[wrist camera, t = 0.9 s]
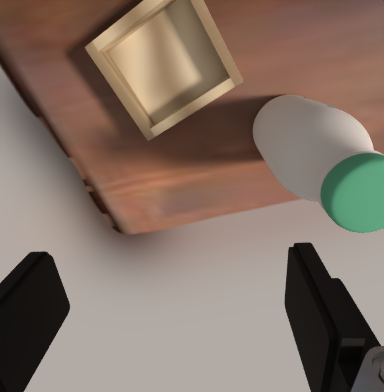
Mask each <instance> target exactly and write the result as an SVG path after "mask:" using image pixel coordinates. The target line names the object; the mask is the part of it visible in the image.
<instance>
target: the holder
mask: <svg viewBox="0 0 384 392" xmlns="http://www.w3.org/2000/svg"><path fill="white" fill-rule="evenodd" d="M84 48H85V49H86V51H87V52H88V53H89V55H90V56H91V58H92V59H93V61H94V62H95V64H96V65H97V67H98V68H99V70H100V71H101V73H102V74H103V76H104V77H105V79H106V80H107V81H108V83H109V84H110V86H111V87H112V89H113V90H114V92H115V93H116V95H117V96H118V98H119V99H120V101H121V102H122V104H123V105H124V106H125V108H126V109H127V111H128V112H129V114H130V115H131V117H132V118H133V120H134V121H135V123H136V124H137V126H138V127H139V129H140V130H141V132H142V133H143V134H144V136H145V137H146V139H147V140H148V141H149V140H151V139H153V138H154V137H156V136H157V135H159V134H161V133H162V132H164V131H165V130H167V129H168V128H170V127H172V126H173V125H175V124H176V123H178V122H180V121H181V120H183V119H184V118H186V117H188V116H189V115H191V114H192V113H194V112H196V111H197V110H199V109H200V108H202V107H203V106H205V105H207V104H208V103H210V102H211V101H213V100H215V99H216V98H218V97H219V96H221V95H223V94H224V93H226V92H227V91H229V90H231V89H232V88H234V87H235V86H237V85H238V84H240V83H242V82H243V79H242V77H241V75H240V73H239V71H238V69H237V67H236V65H235V63H234V61H233V59H232V57H231V55H230V53H229V51H228V49H227V47H226V45H225V43H224V41H223V39H222V37H221V35H220V33H219V31H218V29H217V27H216V25H215V23H214V21H213V19H212V17H211V15H210V13H209V11H208V9H207V7H206V5H205V3H204V1H203V0H143V1H142V2H141V3H139V4H138V5H137V6H136V7H134V8H133V9H132V10H131V11H129V12H128V13H127V14H126V15H124V16H123V17H122V18H121V19H119V20H118V21H117V22H116V23H114V24H113V25H112V26H111V27H109V28H108V29H107V30H106V31H104V32H103V33H102V34H101V35H99V36H98V37H97V38H96V39H94V40H93V41H92V42H91V43H89V44H88V45H87V46H86V47H84Z"/></svg>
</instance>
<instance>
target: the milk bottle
mask: <svg viewBox="0 0 384 392" xmlns="http://www.w3.org/2000/svg"><path fill="white" fill-rule="evenodd" d="M253 138H254V142H255V144H256V146H257V148H258V150H259V152H260V153H261V155H262V157H263V158H264V160H265V162H266V163H267V165H268V167H269V168H270V170H271V171H272V173H273V174H274V176H275V177H276V178H277V180H278V181H279V182H280V183H281V184H282V185H283V186H284V187H285V188H286V189H287V190H288V191H290V192H291V193H293V194H294V195H296V196H298V197H300V198H303V199H306V200H309V201H315V202H319V203H320V205H321V207H322V208H323V209H324V210H325V211H326V213H327V214H328V215H329V217H330V218H331V219H332V220H333V221H334V222H335V223H336V224H337V225H339V226H340V227H342V228H345V229H346V230H349V231H352V232H359V233H365V232H373V231H377V230H380V229H383V228H384V155H383V154H381V153H379V152H377V151H374V150H373V145H372V142H371V139H370V137H369V135H368V133H367V131H366V130H365V128H364V127H363V126H362V125H361V124H360V123H359V122H358V121H357V120H356V119H355V118H353V117H352V116H351V115H349V114H347V113H346V112H343V111H341V110H339V109H337V108H334V107H332V106H329V105H326V104H323V103H321V102H318V101H315V100H311V99H308V98H305V97H302V96H298V95H282V96H279V97H276V98H274V99H272V100H270V101H269V102H268V103H266V104H265V105H264V106H263V107H262V108H261V109H260V111H259V112H258V114H257V116H256V118H255V120H254V124H253Z"/></svg>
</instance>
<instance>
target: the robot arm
mask: <svg viewBox="0 0 384 392" xmlns="http://www.w3.org/2000/svg"><path fill="white" fill-rule="evenodd" d="M285 309H286V312H287V316H288V319H289V322H290V325H291V328H292V331H293V335H294V338H295V342H296V345H297V348H298V351H299V355H300V358H301V361H302V364H303V367H304V371H305V374H306V377H307V380H308V384H309V387H310V390H311V392H384V346H381V345H380V343H379V342H378V340H377V338H376V337H375V335H374V333H373V332H372V330H371V328H370V327H369V325H368V323H367V322H366V320H365V319H364V317H363V315H362V314H361V312H360V310H359V309H358V307H357V305H356V304H355V302H354V301H353V299H352V297H351V296H350V294H349V292H348V291H347V289H346V287H345V286H344V284H343V283H342V281H341V280H340V279H338V278H331V277H330V275H329V273H328V271H327V270H326V268H325V266H324V264H323V263H322V261H321V259H320V257H319V256H318V254H317V252H316V250H315V248H314V247H313V245H312V244H311V243H295V244H294V247H289V251H288V264H287V277H286V290H285ZM69 310H70V304H69V301H68V298H67V295H66V292H65V290H64V287H63V284H62V281H61V279H60V276H59V273H58V270H57V268H56V265H55V262H54V259H53V257H52V256H51V255H49V254H48V253H47V252H30V253H29V254H28V255H27V256H26V257H25V258H24V259H23V260H22V261H21V262H20V263H19V264H18V265H17V266H16V267H15V268H14V269H13V270H12V271H11V273H10V274H9V275H8V276H7V277H6V278H5V279H4V280H3V281H2V282H1V283H0V392H24V390H25V388H26V386H27V385H28V383H29V381H30V380H31V378H32V376H33V374H34V373H35V371H36V369H37V367H38V366H39V364H40V362H41V360H42V359H43V357H44V355H45V353H46V351H47V350H48V348H49V346H50V345H51V343H52V341H53V339H54V337H55V336H56V334H57V332H58V330H59V329H60V327H61V325H62V323H63V322H64V320H65V318H66V316H67V315H68V313H69Z"/></svg>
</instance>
